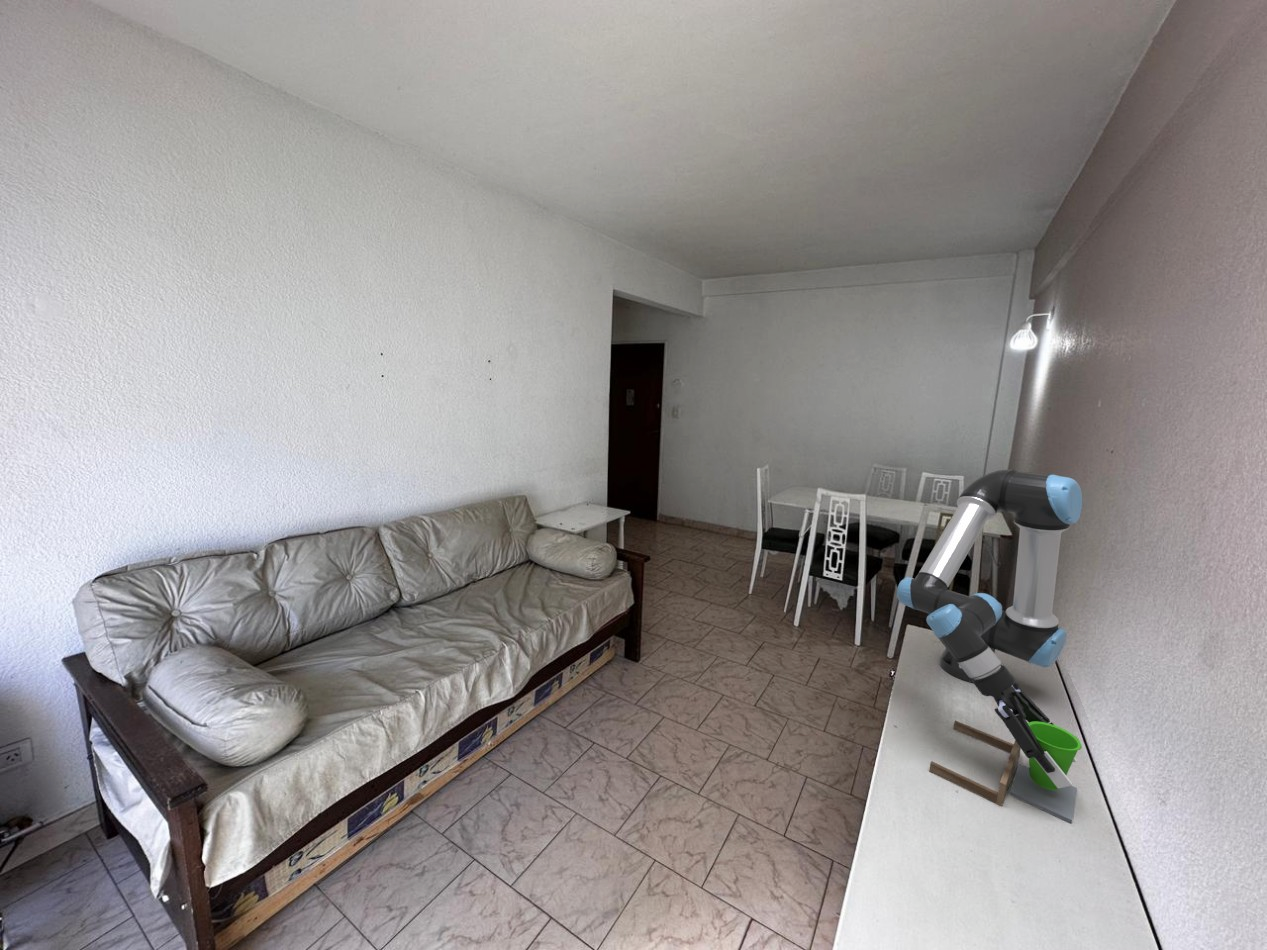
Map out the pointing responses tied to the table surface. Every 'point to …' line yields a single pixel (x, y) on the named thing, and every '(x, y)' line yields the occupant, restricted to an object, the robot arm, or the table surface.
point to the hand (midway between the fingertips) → (1067, 773)
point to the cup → (1052, 751)
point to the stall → (972, 785)
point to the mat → (1044, 795)
